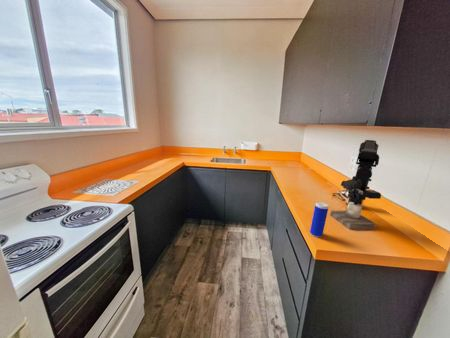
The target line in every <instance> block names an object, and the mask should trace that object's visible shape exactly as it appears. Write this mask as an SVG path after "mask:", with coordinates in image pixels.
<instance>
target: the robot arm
mask: <svg viewBox="0 0 450 338" xmlns="http://www.w3.org/2000/svg"><path fill="white" fill-rule="evenodd" d="M379 146H380V145H379V144H378V143H377V140H372V139H365V140H364V142H361V143H360V145H359V149H358V156H357V159H356V163H355V164H356V165H357V168H356V173H355V176H354V175H353V176H352V178H351V179H348V180H342V181H341V183H340V186H342V188H343V190H344V189H346V190H347V191H348V195H347V197H348V202H345V205H346V206H348V203H349V202H354V204H355V205H357V204H360V205H362V201H364V200H365V201H366V198H367V199H373V200H376V199H377V200H378V199H381V197H382V194H381V192H379V191H376V190H373V189H372V190H371V189H370V186H368V185H369V182H372V180H373V179H372V176H373V168H376V167H377V166H378V165H379V162H380V155H379V154H378V149H379Z"/></svg>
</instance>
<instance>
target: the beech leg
mask: <svg viewBox="0 0 450 338" xmlns="http://www.w3.org/2000/svg"><path fill="white" fill-rule="evenodd" d="M347 203H348V202H347ZM362 209H363V205H362V204H361V205H360V204H357V205H355V204H354V202H349V203H348V205H347V207H346V210H345V211H346V214H345V215H346V216H347V217H348V218H351V219H355V220H358V219H359V218H360V215H361V213H362Z"/></svg>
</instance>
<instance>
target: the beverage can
mask: <svg viewBox="0 0 450 338" xmlns="http://www.w3.org/2000/svg"><path fill="white" fill-rule="evenodd" d="M328 213H329V205H328V204H327V203H325V202H320V201H318V202H316V203H315V205H314V209H313V215H312V219H311V225H310V230H309V233H310V235H311V236H313V237H315V238H321V237H323V236H324V235H323V234H324V230H325V225H326V221H327V220H326V219H327V218H328V217H327V216H328Z"/></svg>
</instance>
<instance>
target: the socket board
mask: <svg viewBox="0 0 450 338" xmlns="http://www.w3.org/2000/svg"><path fill="white" fill-rule="evenodd" d="M346 211H347V210H334V209H333V210H331V211H330V217H332V218H333V220H334V219H335V221H337V222H339V223H340V224H341V225H342V226H344V227H345V228H347V229H348V230H375V229H376V226H377V224H376V223H375V222H374V221H372V220H370V219H369V218H367V217H365V216H363V215H362V214H360V218H359V219H358V220H355V219H351V218H348V217H347V216H346V215H345V214H346Z"/></svg>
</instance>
